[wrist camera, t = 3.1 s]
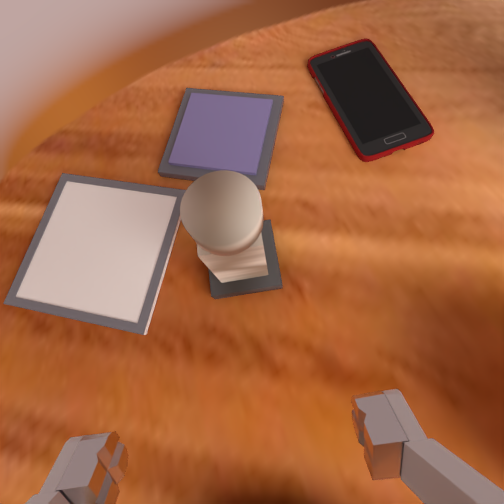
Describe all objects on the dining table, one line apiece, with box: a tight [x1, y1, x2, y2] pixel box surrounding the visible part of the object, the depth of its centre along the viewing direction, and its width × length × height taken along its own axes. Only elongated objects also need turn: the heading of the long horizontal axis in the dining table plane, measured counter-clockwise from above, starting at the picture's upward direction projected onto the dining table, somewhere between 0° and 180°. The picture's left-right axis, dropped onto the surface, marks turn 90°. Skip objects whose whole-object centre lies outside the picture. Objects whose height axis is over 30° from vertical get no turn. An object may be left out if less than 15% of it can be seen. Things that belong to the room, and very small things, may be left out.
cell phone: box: [308, 39, 434, 162], centre depth 31 cm, size 8×15×1 cm, turn 19°
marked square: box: [3, 173, 186, 335], centre depth 28 cm, size 14×14×1 cm
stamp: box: [180, 170, 282, 299], centre depth 21 cm, size 6×6×11 cm
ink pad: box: [158, 88, 284, 190], centre depth 31 cm, size 11×11×1 cm
